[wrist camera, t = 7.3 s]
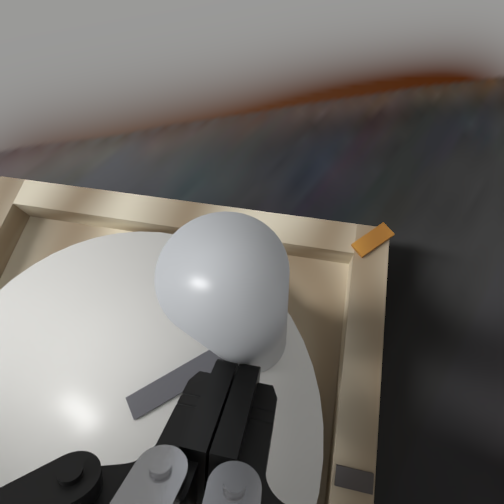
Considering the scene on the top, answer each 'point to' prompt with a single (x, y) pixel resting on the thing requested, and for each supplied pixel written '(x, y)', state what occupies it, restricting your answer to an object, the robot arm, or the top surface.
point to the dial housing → (299, 299)
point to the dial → (152, 346)
